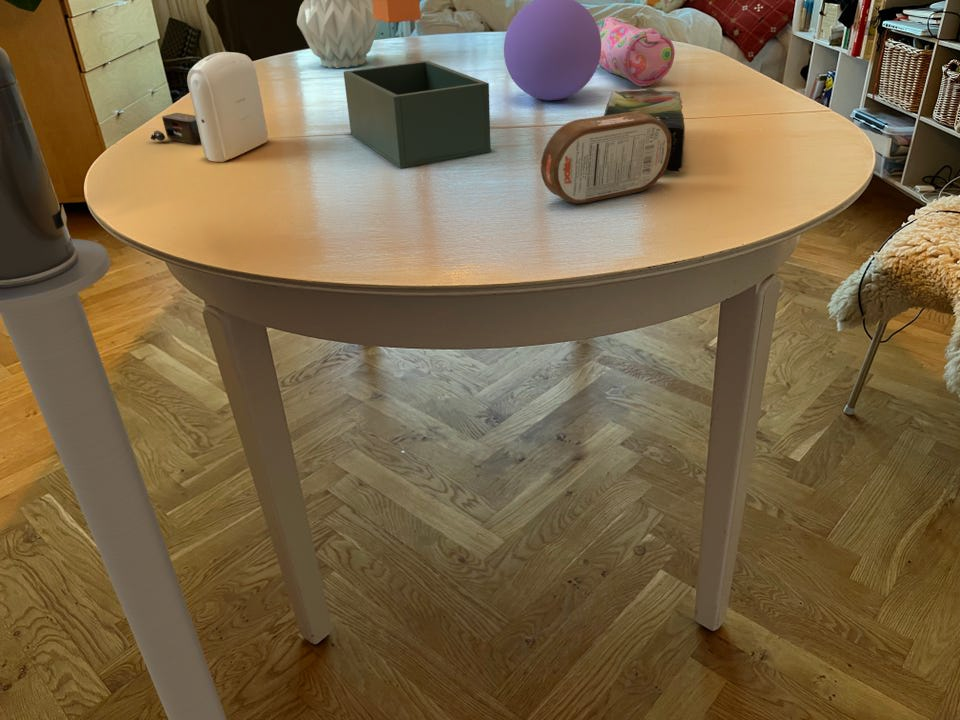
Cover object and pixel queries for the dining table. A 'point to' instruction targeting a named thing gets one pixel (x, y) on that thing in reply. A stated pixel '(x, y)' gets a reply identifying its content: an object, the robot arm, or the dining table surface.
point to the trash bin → (418, 112)
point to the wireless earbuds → (179, 128)
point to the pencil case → (634, 51)
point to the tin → (605, 156)
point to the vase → (338, 30)
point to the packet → (396, 10)
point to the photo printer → (227, 105)
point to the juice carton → (654, 114)
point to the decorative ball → (552, 48)
